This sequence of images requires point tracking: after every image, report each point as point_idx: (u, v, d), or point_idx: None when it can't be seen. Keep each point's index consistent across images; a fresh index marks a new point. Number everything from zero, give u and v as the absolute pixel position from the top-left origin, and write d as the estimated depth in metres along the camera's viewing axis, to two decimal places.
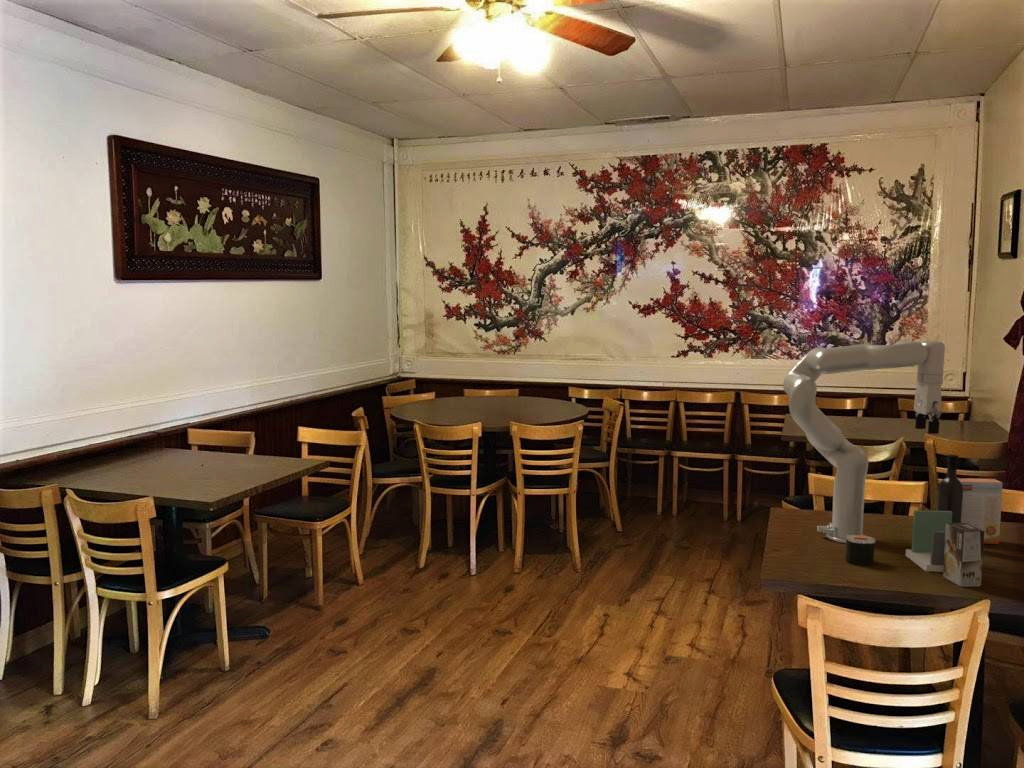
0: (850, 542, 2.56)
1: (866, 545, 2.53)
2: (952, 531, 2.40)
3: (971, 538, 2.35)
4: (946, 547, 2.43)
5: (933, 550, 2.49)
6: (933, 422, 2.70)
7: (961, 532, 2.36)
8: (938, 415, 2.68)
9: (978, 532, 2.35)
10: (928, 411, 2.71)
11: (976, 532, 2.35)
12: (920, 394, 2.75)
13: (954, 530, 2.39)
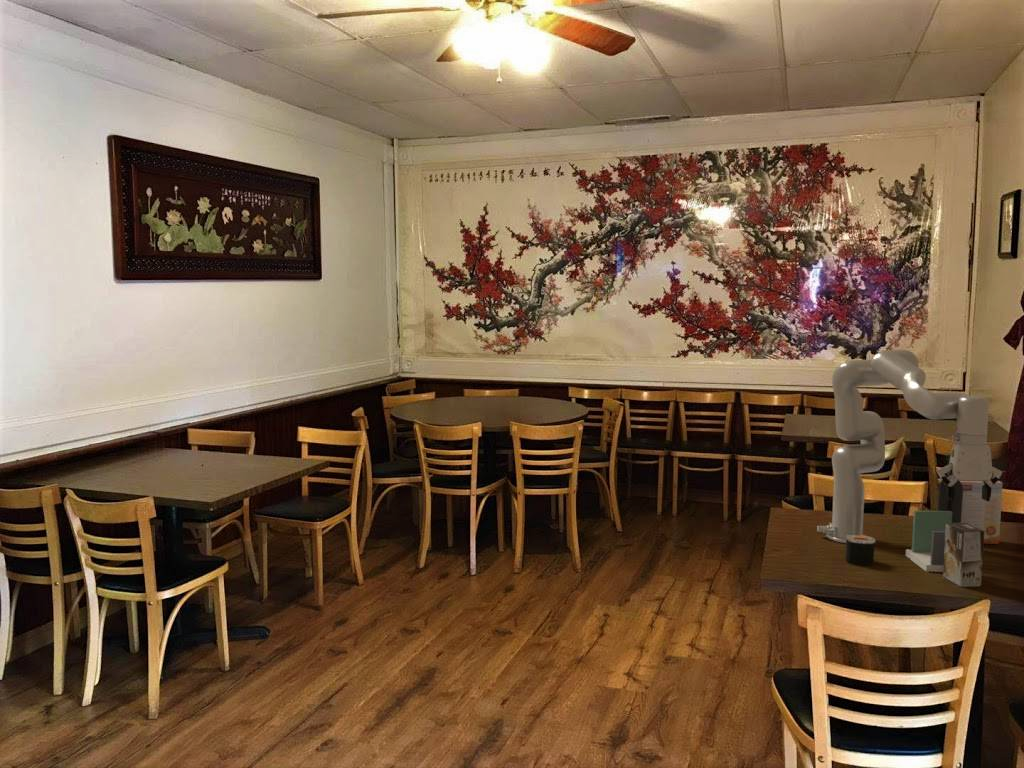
0: (850, 542, 2.56)
1: (866, 545, 2.53)
2: (952, 531, 2.40)
3: (971, 538, 2.35)
4: (946, 547, 2.43)
5: (933, 550, 2.49)
6: None
7: (962, 532, 2.36)
8: None
9: (978, 532, 2.35)
10: None
11: (976, 532, 2.35)
12: (976, 459, 2.34)
13: (954, 530, 2.39)
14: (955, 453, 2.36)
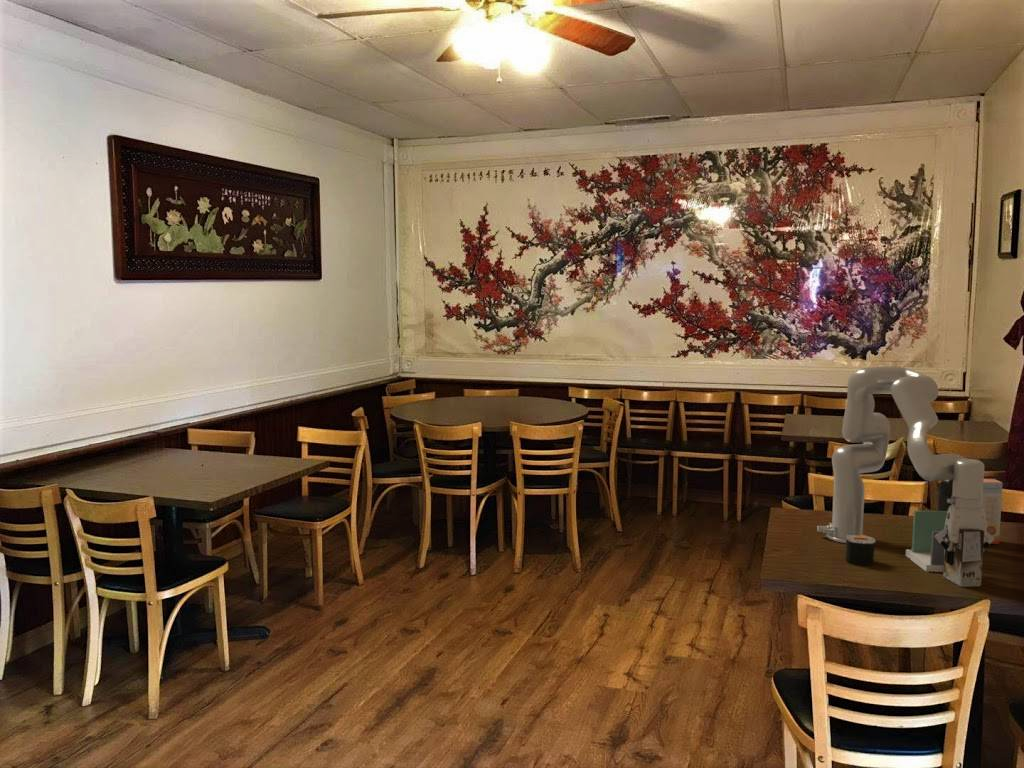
0: (850, 542, 2.56)
1: (866, 545, 2.53)
2: None
3: (971, 538, 2.35)
4: None
5: (933, 550, 2.49)
6: None
7: (961, 532, 2.36)
8: None
9: (978, 532, 2.35)
10: None
11: (976, 532, 2.35)
12: (971, 522, 2.36)
13: None
14: (951, 516, 2.38)
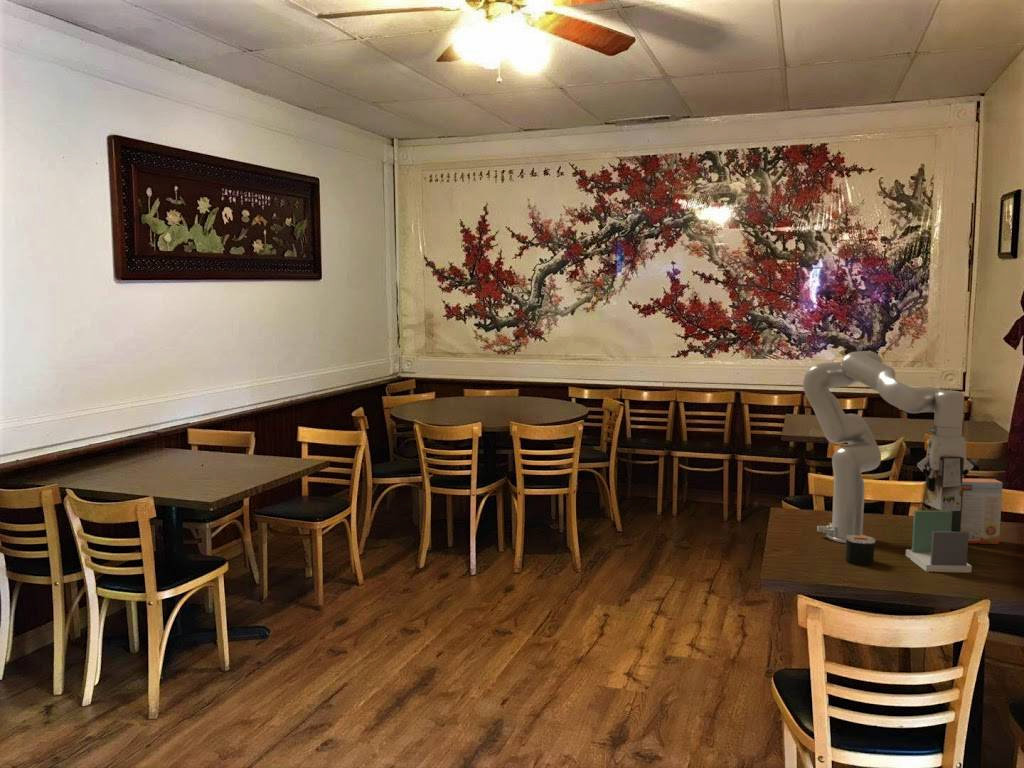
0: (850, 542, 2.56)
1: (866, 545, 2.53)
2: None
3: (951, 464, 2.48)
4: None
5: (933, 550, 2.49)
6: None
7: (942, 458, 2.48)
8: None
9: (958, 459, 2.48)
10: None
11: (956, 459, 2.48)
12: (951, 450, 2.49)
13: None
14: (932, 444, 2.50)
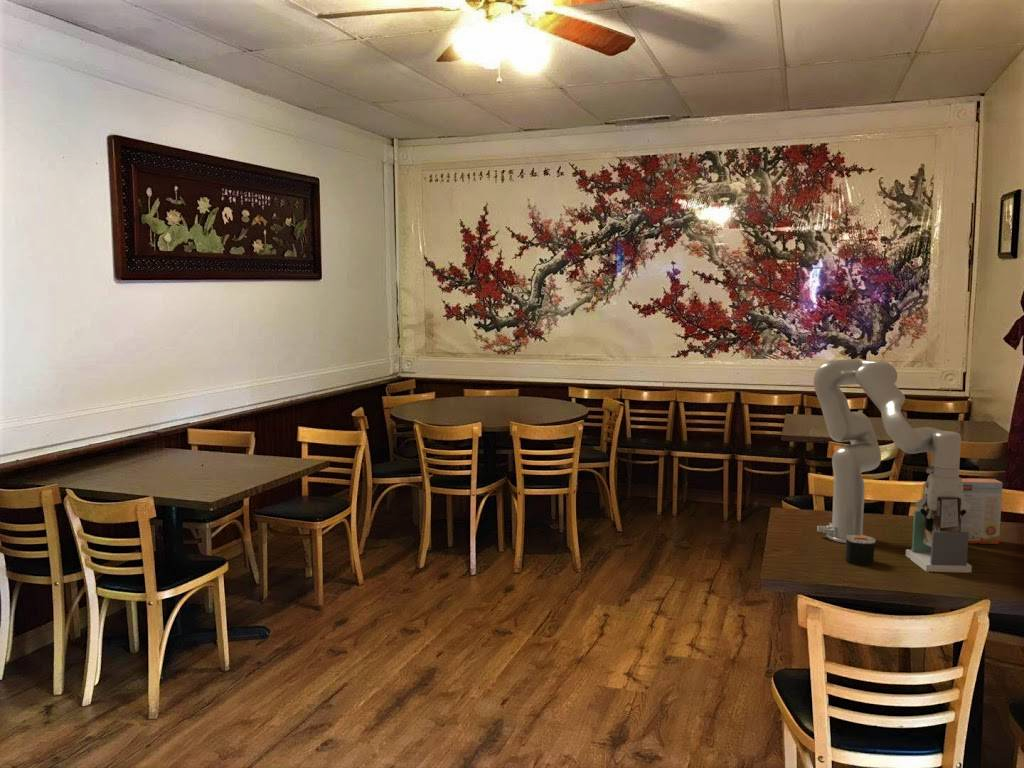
0: (850, 542, 2.56)
1: (866, 545, 2.53)
2: None
3: (948, 505, 2.49)
4: None
5: (933, 550, 2.49)
6: None
7: (940, 499, 2.49)
8: None
9: (955, 499, 2.49)
10: None
11: (953, 499, 2.49)
12: (949, 491, 2.50)
13: None
14: (929, 485, 2.52)
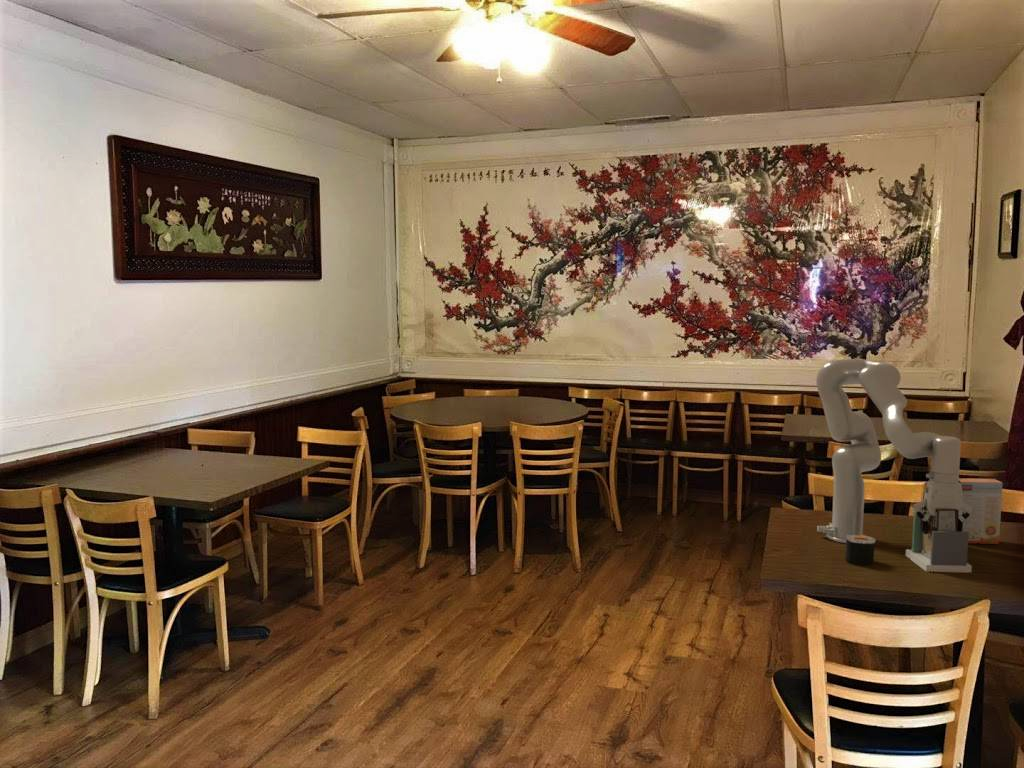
0: (850, 542, 2.56)
1: (866, 545, 2.53)
2: None
3: (946, 517, 2.50)
4: None
5: (933, 550, 2.49)
6: None
7: (937, 511, 2.50)
8: None
9: (953, 511, 2.50)
10: None
11: (951, 511, 2.49)
12: (949, 496, 2.50)
13: None
14: (929, 490, 2.52)
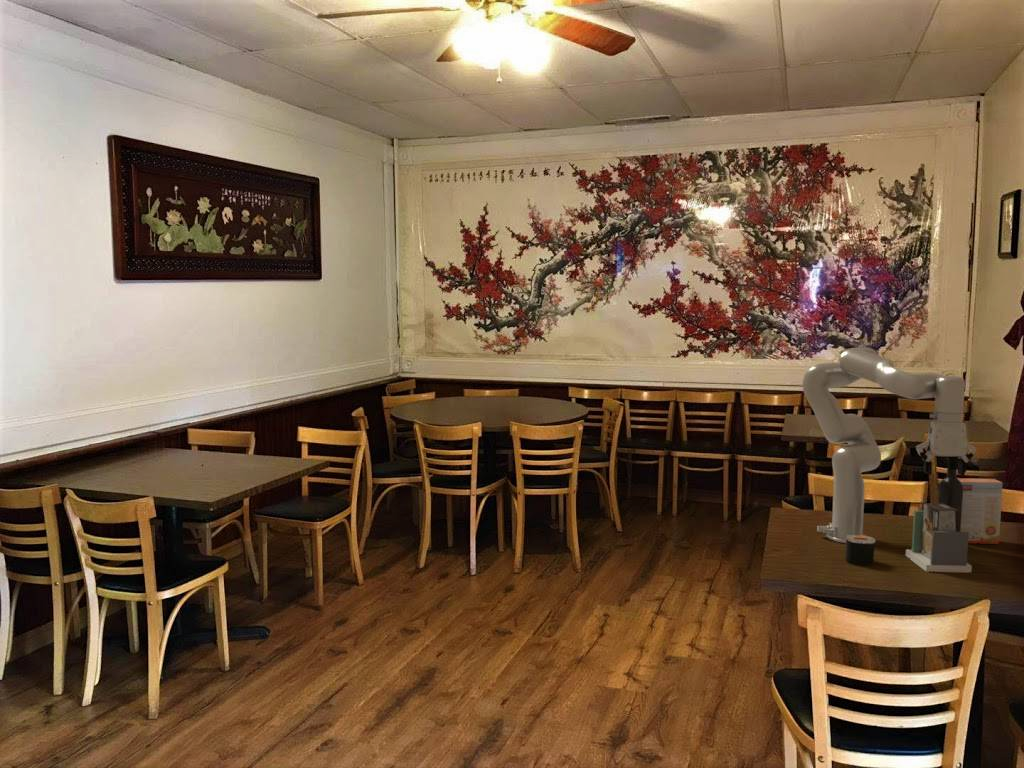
0: (850, 542, 2.56)
1: (866, 545, 2.53)
2: (929, 511, 2.54)
3: (946, 517, 2.50)
4: (924, 526, 2.57)
5: (933, 550, 2.49)
6: None
7: (937, 511, 2.50)
8: None
9: (953, 511, 2.50)
10: None
11: (951, 511, 2.50)
12: (952, 436, 2.48)
13: (931, 509, 2.53)
14: (933, 430, 2.50)
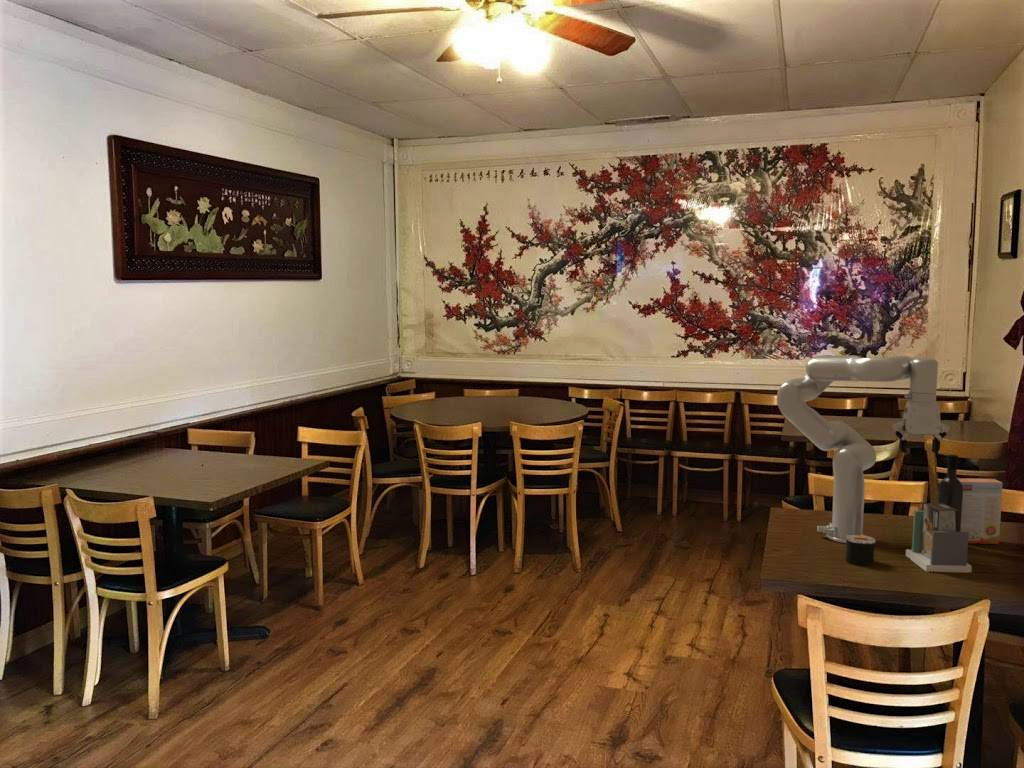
0: (850, 542, 2.56)
1: (866, 545, 2.53)
2: (929, 511, 2.54)
3: (946, 517, 2.50)
4: (924, 526, 2.57)
5: (933, 550, 2.49)
6: None
7: (937, 511, 2.50)
8: None
9: (953, 511, 2.50)
10: None
11: (951, 511, 2.50)
12: (926, 415, 2.59)
13: (931, 510, 2.53)
14: (907, 410, 2.61)
